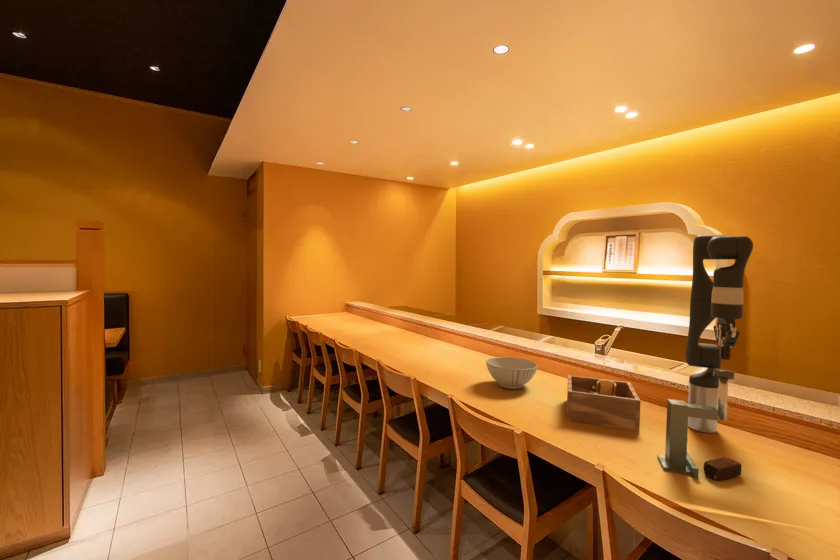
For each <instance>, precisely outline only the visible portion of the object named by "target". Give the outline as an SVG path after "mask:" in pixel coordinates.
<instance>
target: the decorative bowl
mask: <svg viewBox="0 0 840 560" xmlns="http://www.w3.org/2000/svg"><path fill="white" fill-rule="evenodd" d="M485 364H486V367H487V368H486V369H487V371H488V372H489V374H490V376H491V378H492V379H494V381H496V382H497V383H498V385H499V386H500V387H502V388H505V389H511V390H518V389H522V388H523V387H524V386H525V385H526V384H528V383H529V382H530V381H531V380H532V379H533V378H534V376H535V375H536V373H537V370H538V363H536V362H535V361H532V360H529V359H527V358H526V359H525V358H521V357H513V356H497V357H490V358H487V359H486V361H485Z"/></svg>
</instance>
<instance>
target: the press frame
mask: <svg viewBox="0 0 840 560" xmlns="http://www.w3.org/2000/svg"><path fill="white" fill-rule="evenodd" d="M666 403H667V404H666V422H665V423H666V424H665V425H666V426H665V428H666V429H665V448H664V449H665V450H664V451H665V452H664V453H665V454H658V453H657V455H656V456H657V459H658V461H659V464H660V466H661V467H662V470H663V471H665V472H671V473H676V474H682V475H686V476H691V478H692V479H696V480H697V479H699V467H698V466H697V464H696V463H695V462H694V460H693V459H692V456H691V455H690V454H689V452H688V432H689V429H688V428H689V427H688V417H695V418H702V419H709V420H717V422H718V421H719V419H718V410H717V409H716V408H715V407H711V406H703V405H695V404H688V402H686V401H684V400H678V399H671V398H667V402H666Z"/></svg>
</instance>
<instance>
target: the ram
mask: <svg viewBox="0 0 840 560" xmlns="http://www.w3.org/2000/svg"><path fill="white" fill-rule="evenodd" d="M735 372H736V371H734V370H731V369H726V368H720V369H718V368H716V369H714V370H713V376H714V377H717V378H719V389H718V421H722V422H723V421H724V422H726V421H727V417H728V416H727V413H728V412H727V411H728V395H729V394H728V391H729V380H731V381H733V380H735V374H736V373H735Z"/></svg>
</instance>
